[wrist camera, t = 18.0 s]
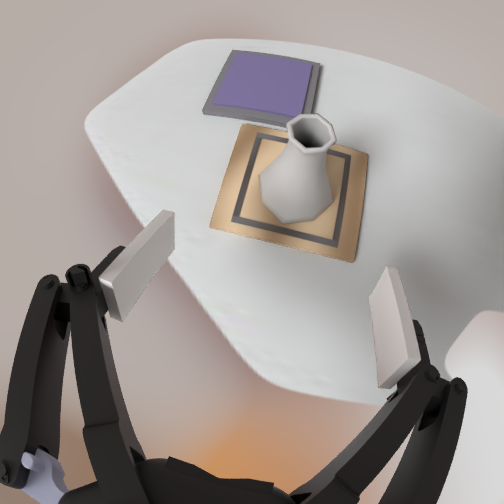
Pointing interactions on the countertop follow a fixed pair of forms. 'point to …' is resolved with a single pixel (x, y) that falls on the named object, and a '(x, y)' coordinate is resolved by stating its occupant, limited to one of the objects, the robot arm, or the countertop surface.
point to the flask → (300, 172)
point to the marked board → (266, 223)
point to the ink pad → (263, 88)
